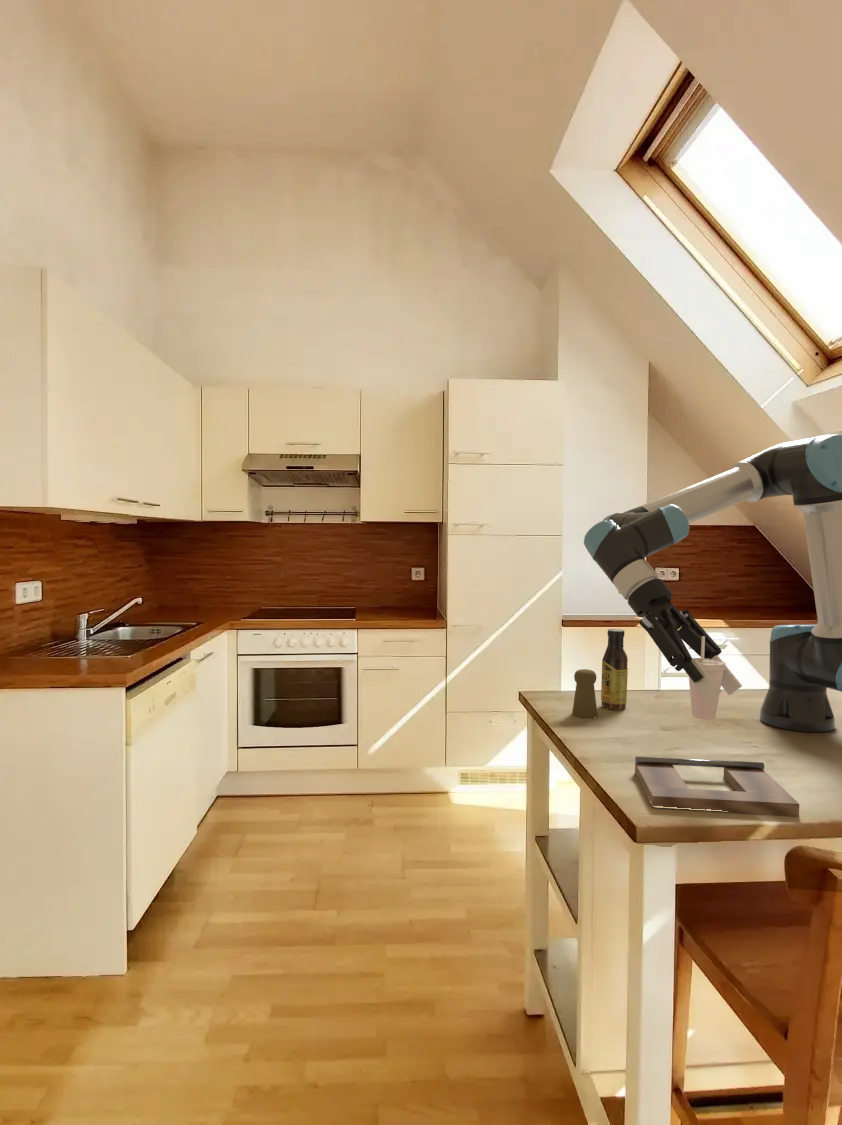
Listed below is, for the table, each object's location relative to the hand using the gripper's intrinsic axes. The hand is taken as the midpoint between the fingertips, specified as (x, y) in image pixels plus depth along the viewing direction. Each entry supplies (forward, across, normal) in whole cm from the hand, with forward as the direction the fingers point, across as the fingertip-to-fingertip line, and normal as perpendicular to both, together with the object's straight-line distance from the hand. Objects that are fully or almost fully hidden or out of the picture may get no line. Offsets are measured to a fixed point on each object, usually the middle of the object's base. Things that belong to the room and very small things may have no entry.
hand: (725, 693), depth 115 cm
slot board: (+11, +2, -13) cm, 17 cm away
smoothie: (+1, 0, -6) cm, 6 cm away
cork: (-19, -22, -44) cm, 53 cm away
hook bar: (+6, -4, -15) cm, 17 cm away
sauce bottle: (-19, -33, -44) cm, 58 cm away
